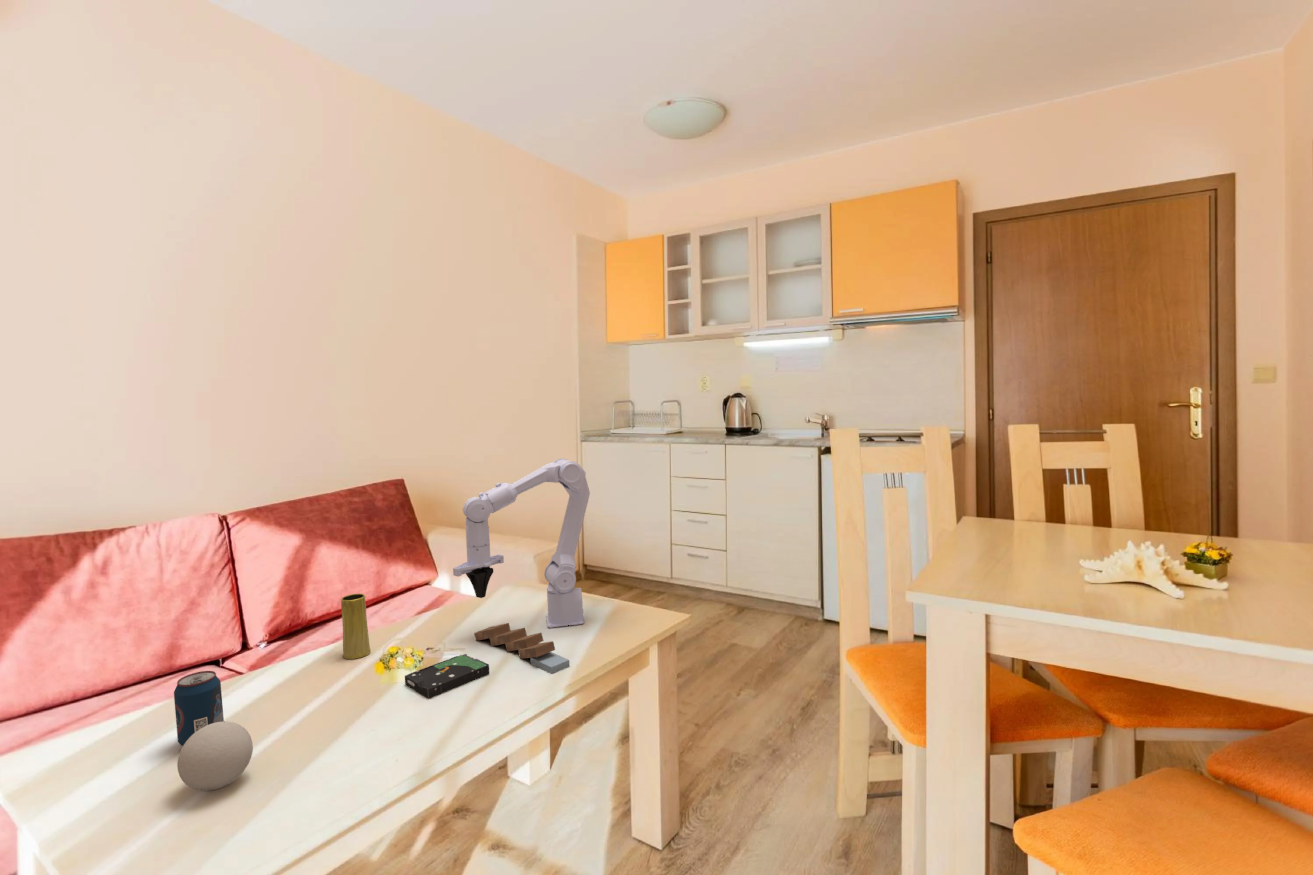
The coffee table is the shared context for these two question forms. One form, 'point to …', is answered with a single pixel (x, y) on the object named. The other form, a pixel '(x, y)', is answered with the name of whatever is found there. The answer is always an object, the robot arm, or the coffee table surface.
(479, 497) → the robot arm
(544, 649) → the domino
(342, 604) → the vase
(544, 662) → the domino
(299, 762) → the coffee table surface
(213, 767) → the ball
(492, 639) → the domino
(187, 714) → the soda can
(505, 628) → the pushed domino
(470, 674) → the disk drive
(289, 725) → the coffee table surface
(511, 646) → the brown wooden block
